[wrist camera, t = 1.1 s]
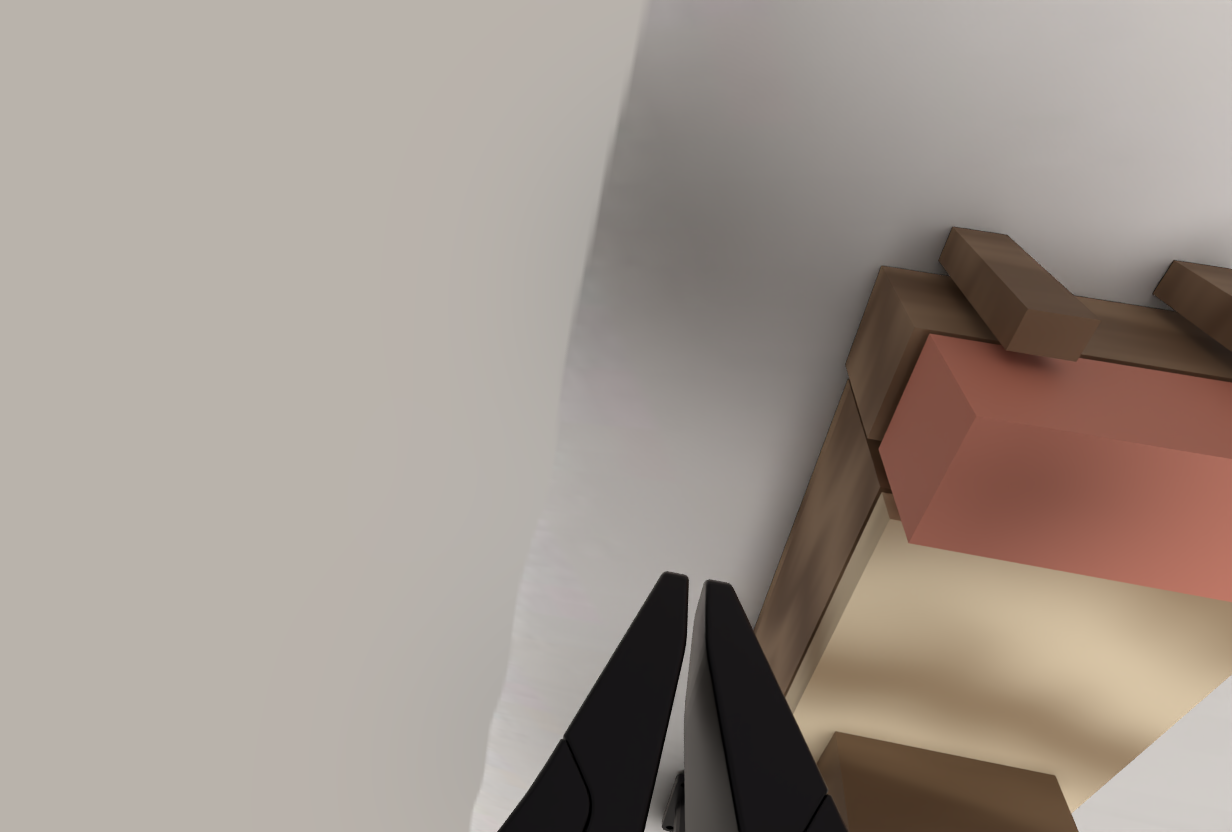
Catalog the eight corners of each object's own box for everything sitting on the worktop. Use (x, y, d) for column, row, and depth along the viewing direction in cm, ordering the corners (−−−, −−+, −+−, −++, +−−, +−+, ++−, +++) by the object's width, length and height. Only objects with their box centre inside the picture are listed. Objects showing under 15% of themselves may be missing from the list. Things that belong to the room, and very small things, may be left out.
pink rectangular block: (1227, 509, 16) (1331, 620, 14) (878, 449, 17) (908, 543, 14) (1329, 398, 14) (1477, 500, 12) (929, 333, 15) (976, 416, 12)
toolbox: (1223, 729, 28) (1319, 873, 23) (745, 636, 29) (748, 756, 24) (1708, 341, 17) (2074, 474, 12) (898, 218, 18) (954, 297, 13)
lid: (1018, 820, 24) (1064, 953, 20) (753, 765, 24) (757, 886, 21) (1290, 565, 16) (1438, 718, 12) (881, 492, 16) (919, 620, 13)
